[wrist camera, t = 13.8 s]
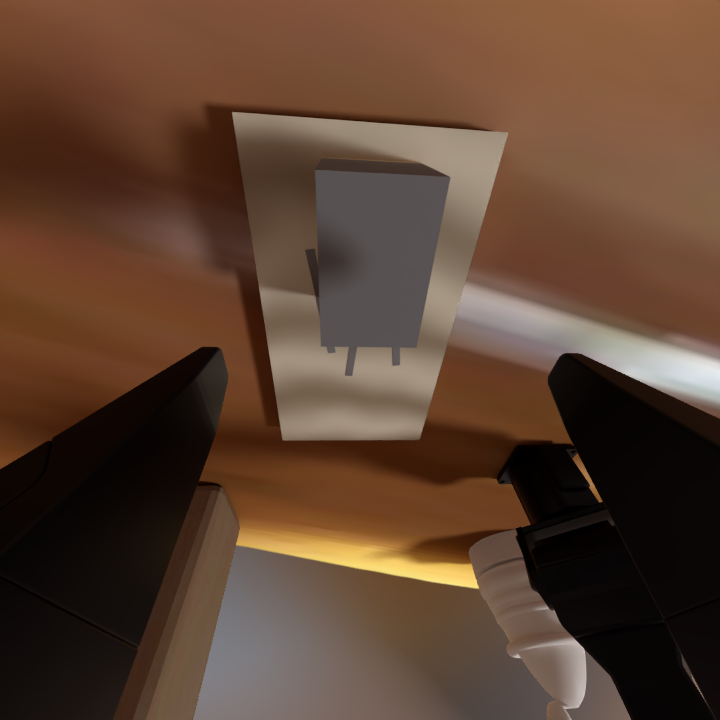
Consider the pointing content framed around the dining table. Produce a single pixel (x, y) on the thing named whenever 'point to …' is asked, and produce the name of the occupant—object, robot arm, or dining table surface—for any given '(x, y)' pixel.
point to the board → (301, 278)
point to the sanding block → (376, 249)
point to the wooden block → (183, 614)
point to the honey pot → (529, 622)
